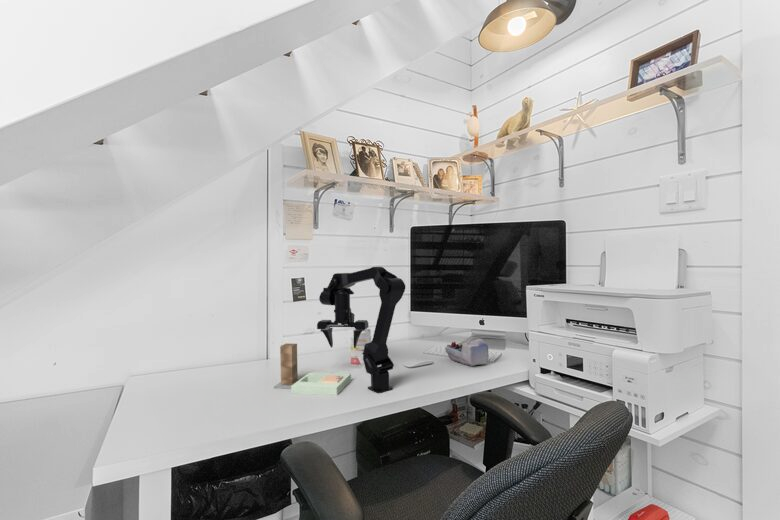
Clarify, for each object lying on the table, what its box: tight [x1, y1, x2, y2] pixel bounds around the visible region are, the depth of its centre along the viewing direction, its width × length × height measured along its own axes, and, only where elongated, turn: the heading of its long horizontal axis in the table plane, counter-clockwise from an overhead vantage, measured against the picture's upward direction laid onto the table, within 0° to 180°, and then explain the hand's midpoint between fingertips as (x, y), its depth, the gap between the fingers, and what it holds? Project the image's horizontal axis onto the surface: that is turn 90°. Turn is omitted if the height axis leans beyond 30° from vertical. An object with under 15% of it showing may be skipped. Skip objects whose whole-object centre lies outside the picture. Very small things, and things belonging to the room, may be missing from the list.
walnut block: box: [279, 343, 299, 386], centre depth 137 cm, size 4×4×14 cm
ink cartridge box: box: [350, 328, 372, 365], centre depth 166 cm, size 9×5×15 cm, turn 84°
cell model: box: [445, 338, 489, 367], centre depth 164 cm, size 13×11×20 cm
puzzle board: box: [290, 372, 352, 396], centre depth 134 cm, size 16×16×4 cm
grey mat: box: [273, 379, 300, 390], centre depth 137 cm, size 8×8×1 cm
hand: (343, 347), depth 142 cm, fingers open, 9 cm apart
